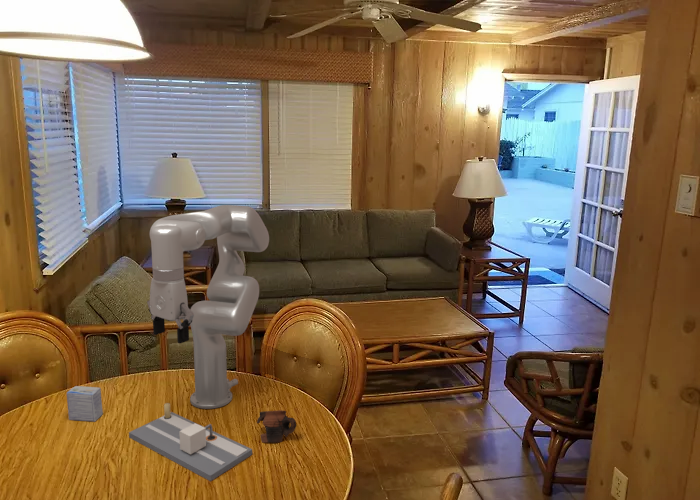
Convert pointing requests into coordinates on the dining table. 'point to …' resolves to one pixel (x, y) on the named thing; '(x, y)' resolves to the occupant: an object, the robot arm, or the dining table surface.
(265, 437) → the pottery mug
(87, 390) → the medicine box
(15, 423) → the dining table surface
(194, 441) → the white block with pointer
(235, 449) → the gauge board
